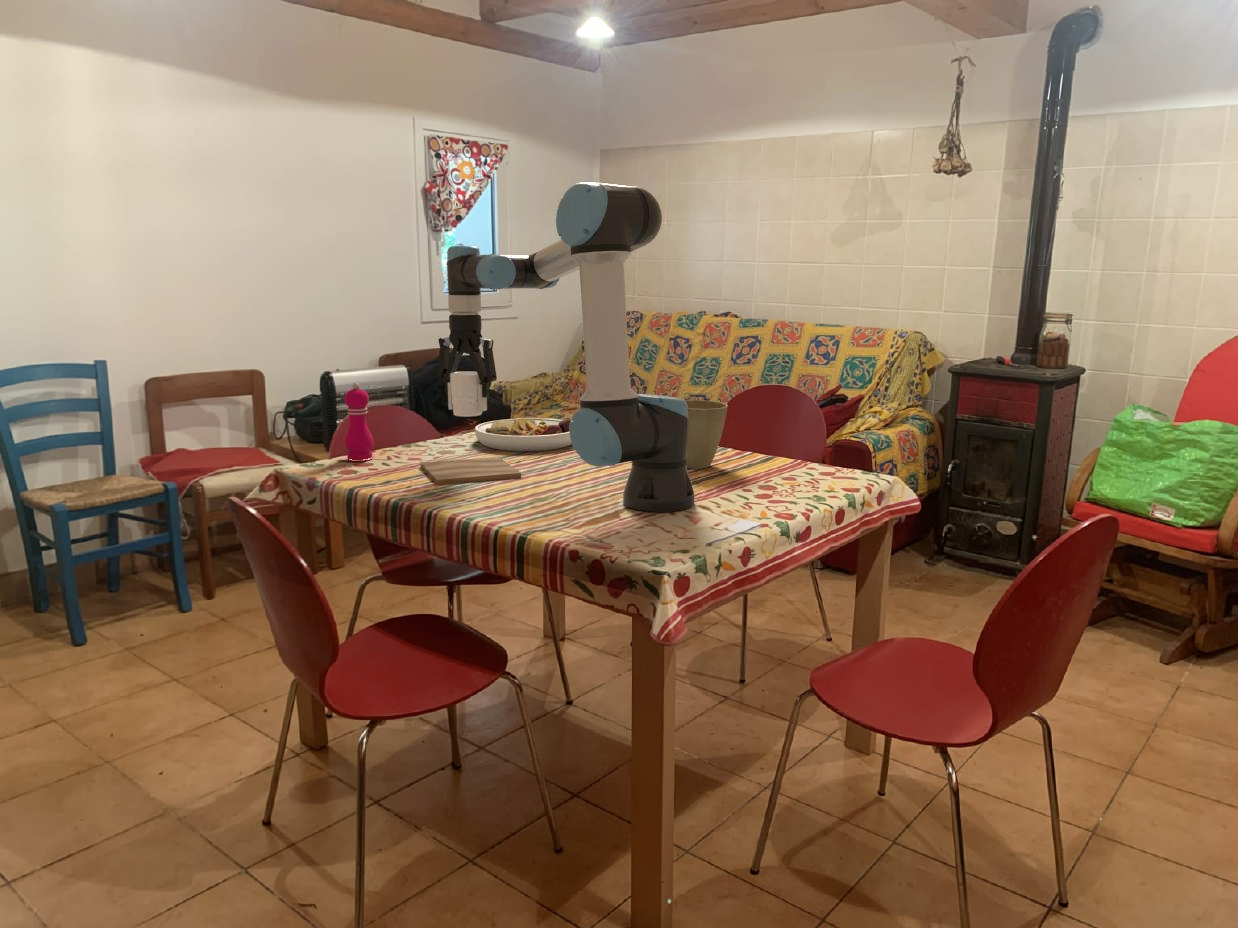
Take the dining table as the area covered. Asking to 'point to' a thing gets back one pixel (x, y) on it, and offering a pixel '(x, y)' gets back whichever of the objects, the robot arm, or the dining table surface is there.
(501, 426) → the bowl
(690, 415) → the plant pot
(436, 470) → the walnut board
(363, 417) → the pepper mill
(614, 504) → the dining table surface
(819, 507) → the dining table surface
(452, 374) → the white cup
